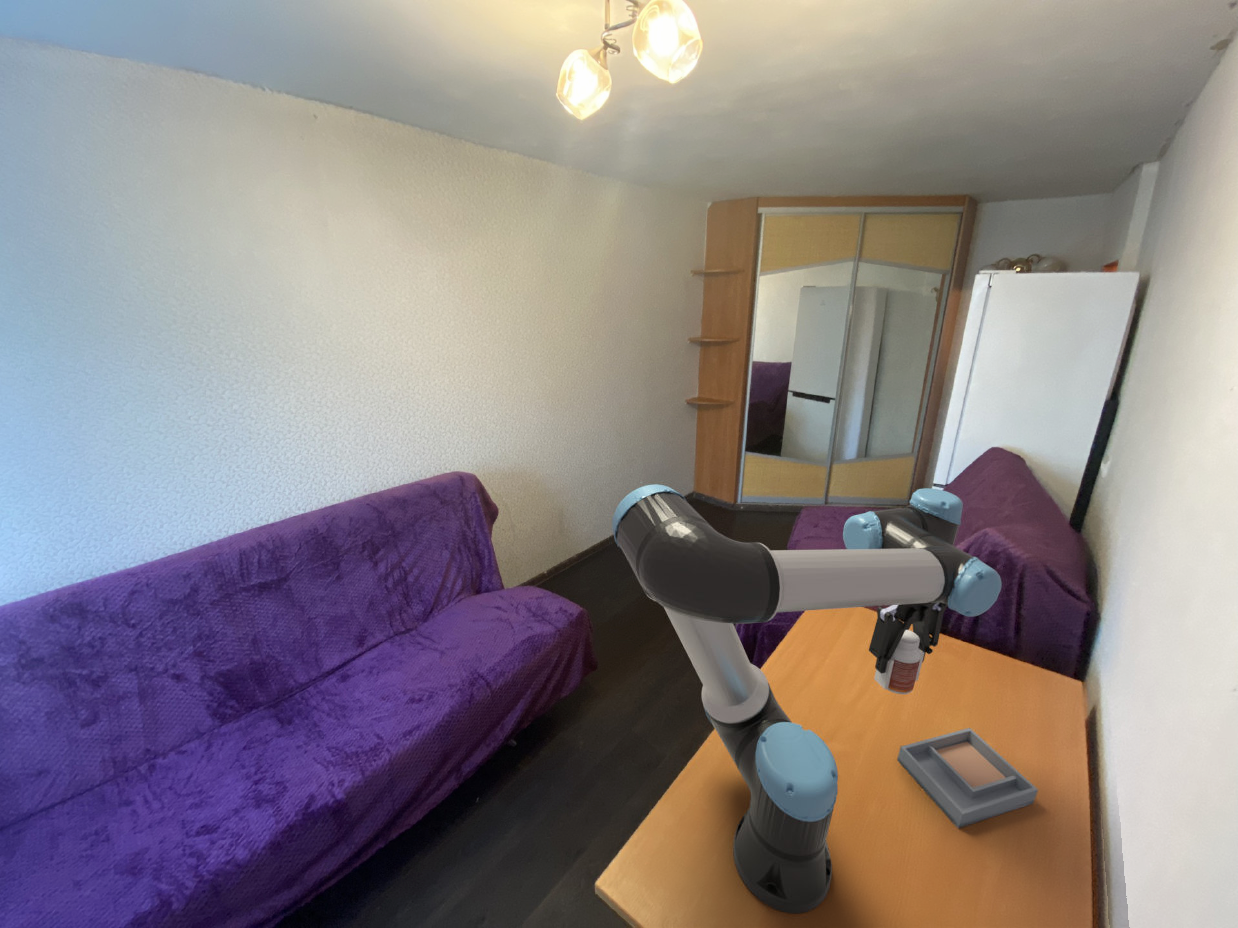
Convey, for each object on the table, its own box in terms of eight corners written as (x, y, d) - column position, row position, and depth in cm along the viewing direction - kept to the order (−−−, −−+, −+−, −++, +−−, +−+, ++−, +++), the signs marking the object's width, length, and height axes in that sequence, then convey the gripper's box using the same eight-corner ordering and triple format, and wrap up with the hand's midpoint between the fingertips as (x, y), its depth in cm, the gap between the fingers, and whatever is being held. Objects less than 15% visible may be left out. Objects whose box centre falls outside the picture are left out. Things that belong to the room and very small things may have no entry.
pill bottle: (919, 686, 99) (931, 638, 96) (902, 701, 96) (913, 651, 92) (888, 667, 104) (898, 621, 100) (870, 680, 101) (880, 632, 97)
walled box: (957, 828, 91) (962, 814, 89) (897, 759, 103) (900, 746, 102) (1032, 803, 95) (1038, 789, 94) (965, 740, 108) (969, 727, 106)
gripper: (891, 596, 86) (868, 706, 94) (981, 577, 91) (952, 683, 99) (859, 572, 93) (840, 676, 101) (945, 556, 98) (920, 656, 106)
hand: (895, 679), depth 100 cm, fingers closed on pill bottle, 6 cm apart
